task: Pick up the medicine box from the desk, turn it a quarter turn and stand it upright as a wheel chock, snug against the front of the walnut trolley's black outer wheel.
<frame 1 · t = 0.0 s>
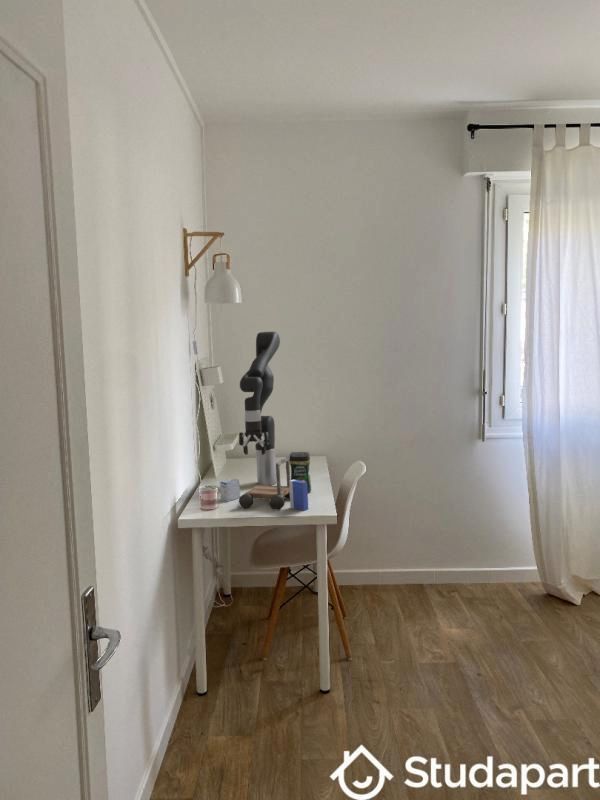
hand: (254, 454, 303), 17 cm above the table, tool pointing down, fingers open, 8 cm apart
coffee jar: (301, 492, 298), on the table
walkman: (299, 509, 272), on the table
trolley: (268, 503, 282), on the table
medicine box: (230, 499, 292), on the table
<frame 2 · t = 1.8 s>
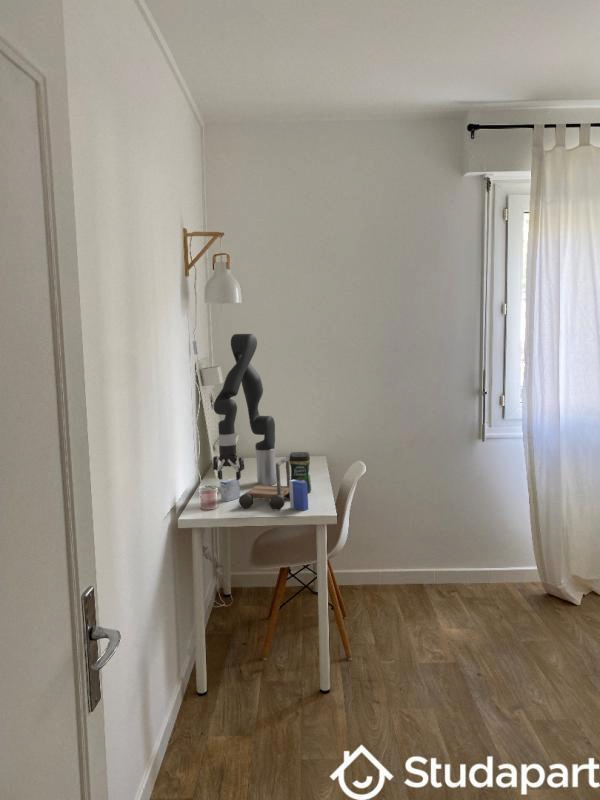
hand: (229, 479, 291), 9 cm above the table, tool pointing down, fingers open, 8 cm apart
nothing on the table moved.
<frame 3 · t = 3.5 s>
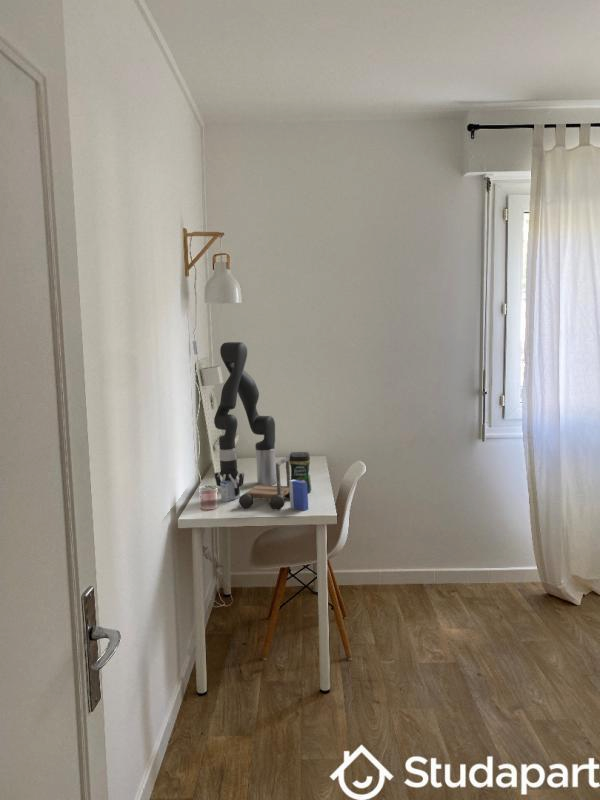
hand: (230, 495, 292), 2 cm above the table, tool pointing down, fingers closed on medicine box, 5 cm apart
medicine box: (230, 499, 292), on the table, touching gripper
everything else where it was.
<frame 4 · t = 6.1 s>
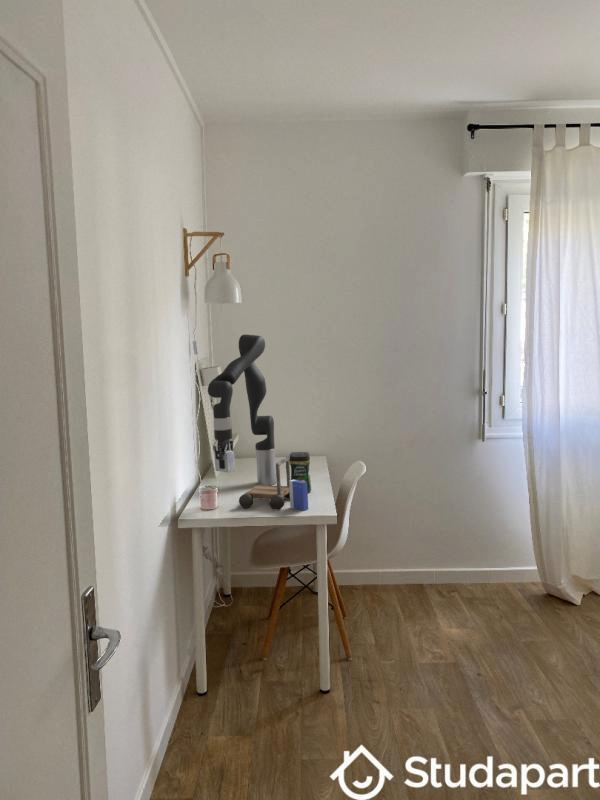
hand: (225, 466, 278), 18 cm above the table, tool pointing down, fingers closed on medicine box, 5 cm apart
medicine box: (225, 471, 278), point 16 cm above the table, touching gripper
everything else where it was.
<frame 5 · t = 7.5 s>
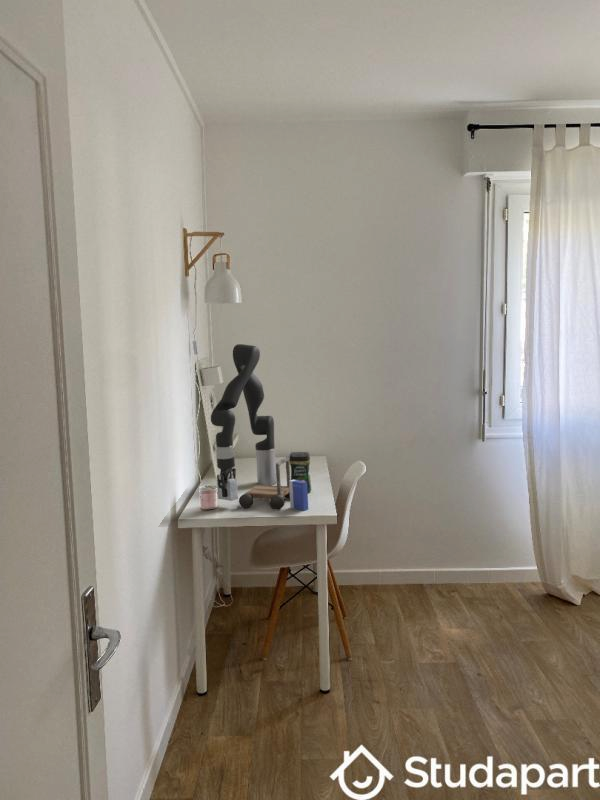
hand: (228, 494, 279), 5 cm above the table, tool pointing down, fingers closed on medicine box, 5 cm apart
medicine box: (228, 499, 279), point 3 cm above the table, touching gripper
everything else where it was.
when the fingers open (3 cm above the table, at t = 8.7 s): medicine box drops 1 cm, on the table.
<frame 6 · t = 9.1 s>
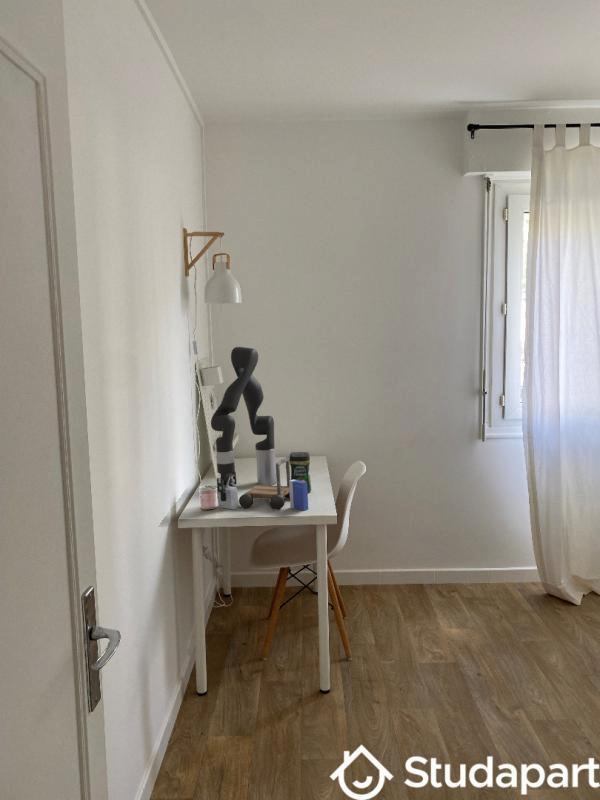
hand: (228, 498, 279), 4 cm above the table, tool pointing down, fingers open, 8 cm apart
medicine box: (228, 507, 280), on the table
everything else where it was.
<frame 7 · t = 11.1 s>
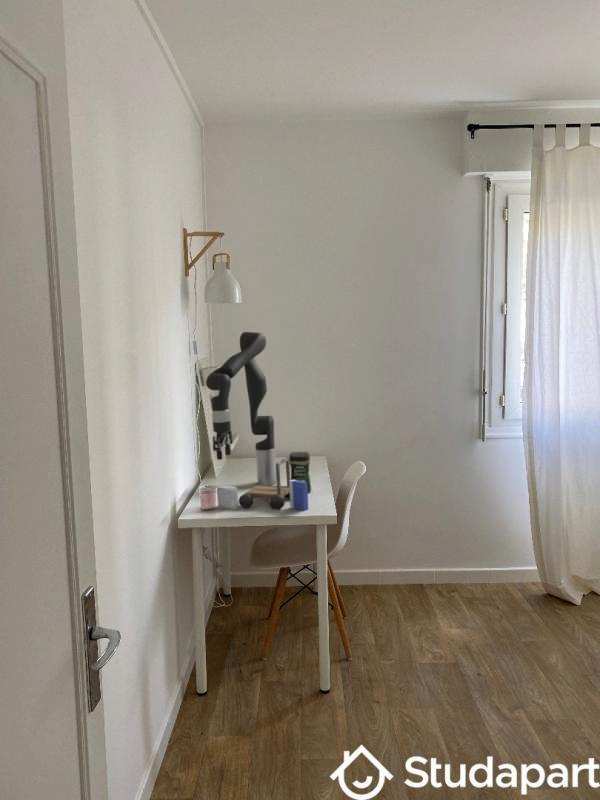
hand: (224, 457, 281), 21 cm above the table, tool pointing down, fingers open, 8 cm apart
nothing on the table moved.
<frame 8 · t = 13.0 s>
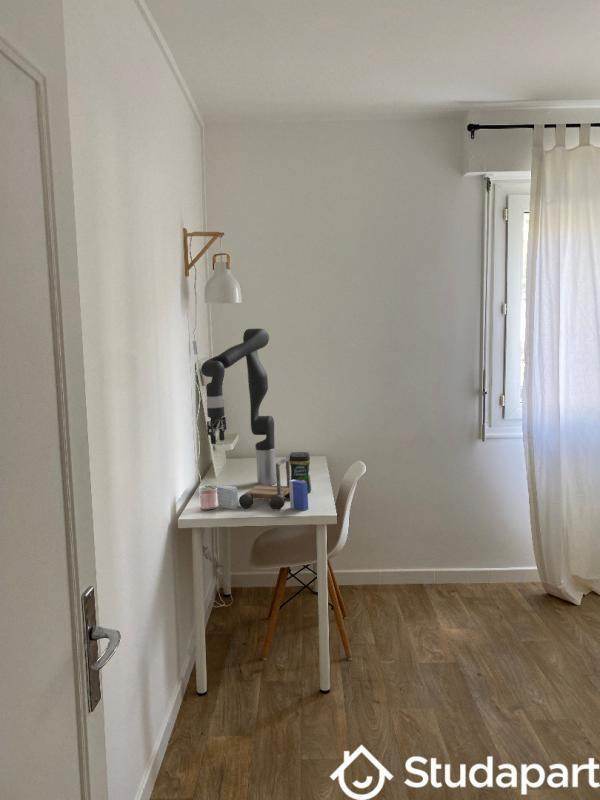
hand: (217, 442, 290), 26 cm above the table, tool pointing down, fingers open, 8 cm apart
nothing on the table moved.
at the end: medicine box 0.1 cm from the target spot on the table beside the trolley, on the table; medicine box tilted 0°; the gripper is holding nothing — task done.
